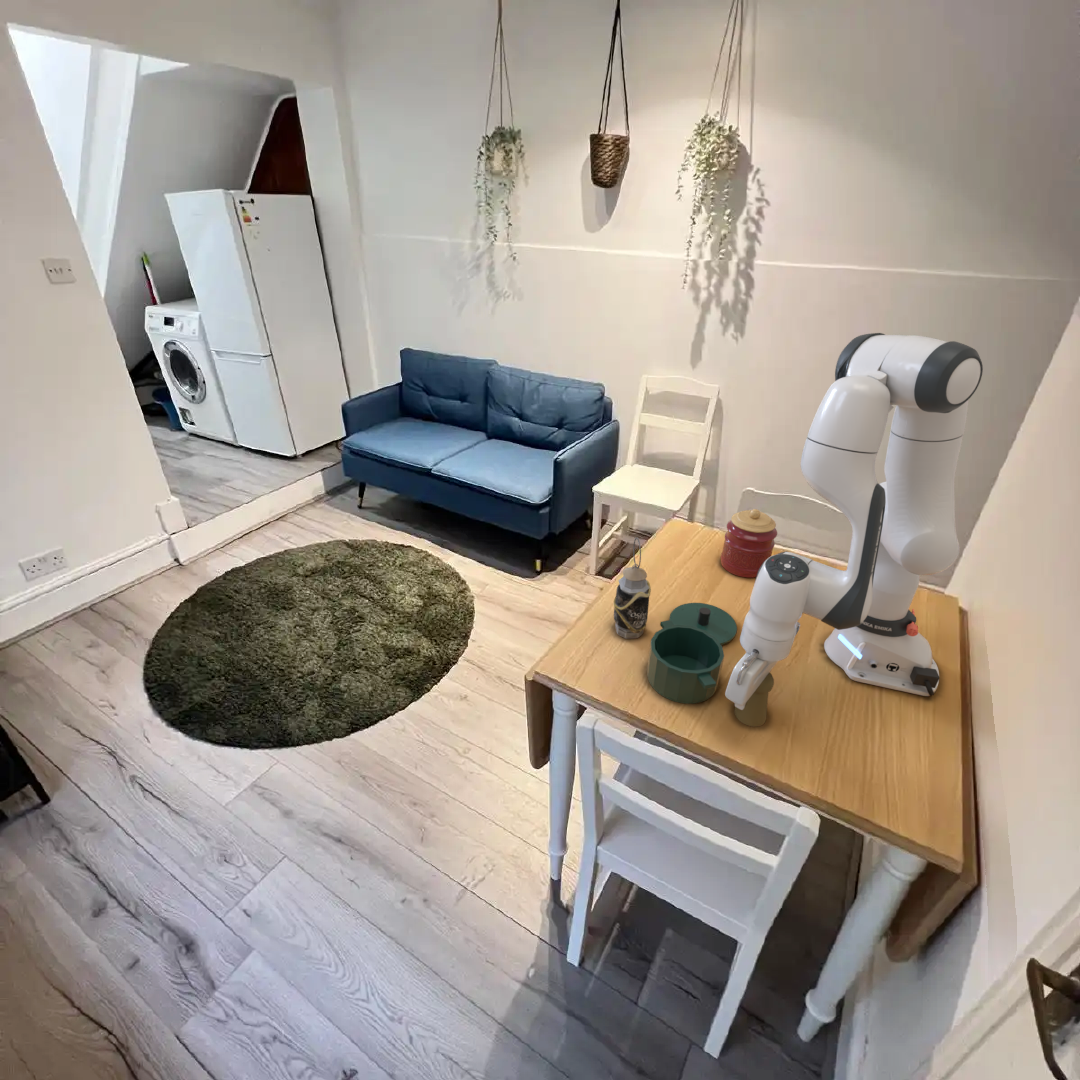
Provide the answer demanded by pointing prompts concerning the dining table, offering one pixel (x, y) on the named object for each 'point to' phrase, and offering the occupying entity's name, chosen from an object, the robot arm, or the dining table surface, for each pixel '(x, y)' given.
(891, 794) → the dining table surface
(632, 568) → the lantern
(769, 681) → the tan game pawn
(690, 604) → the lid
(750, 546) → the kitchen canister
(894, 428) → the robot arm
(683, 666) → the pot
